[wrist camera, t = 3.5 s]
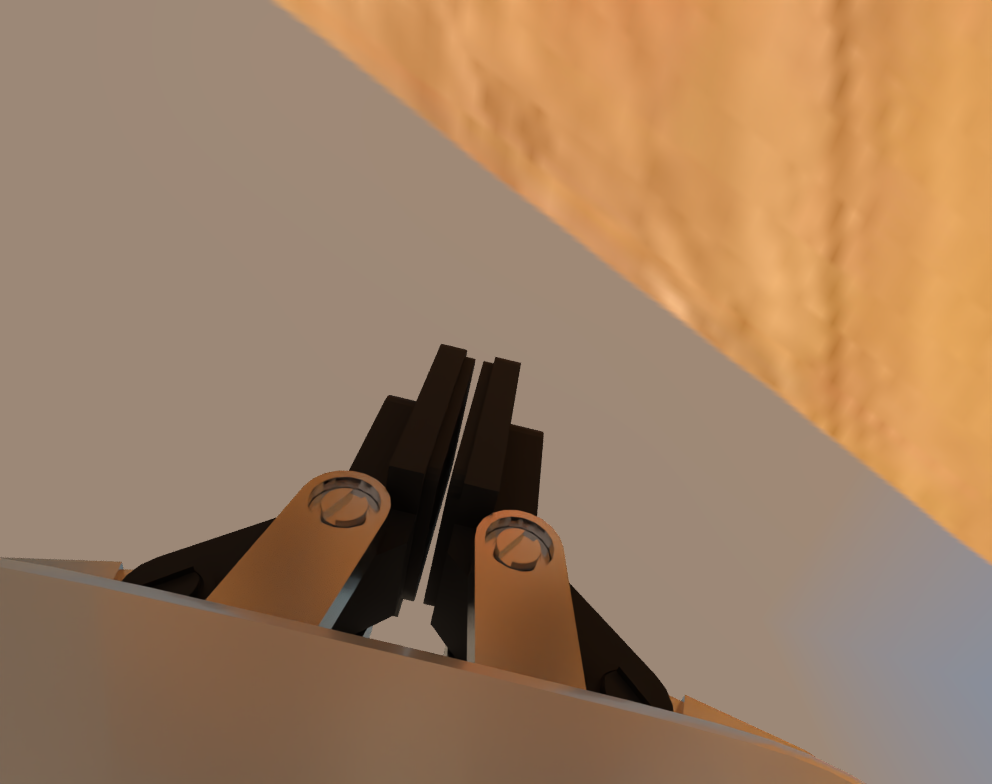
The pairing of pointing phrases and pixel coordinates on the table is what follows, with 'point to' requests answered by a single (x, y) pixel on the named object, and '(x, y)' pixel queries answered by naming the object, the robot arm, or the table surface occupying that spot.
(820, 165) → the table surface
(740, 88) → the table surface
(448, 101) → the table surface
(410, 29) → the table surface
